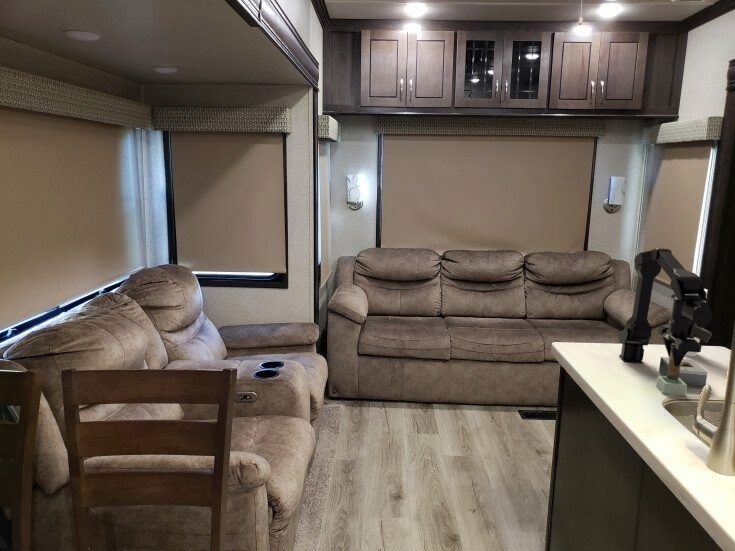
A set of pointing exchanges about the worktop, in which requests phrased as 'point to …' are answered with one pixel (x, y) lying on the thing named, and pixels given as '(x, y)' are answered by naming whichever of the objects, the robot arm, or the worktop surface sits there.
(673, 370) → the brown rod
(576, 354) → the worktop surface
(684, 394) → the holder cup
